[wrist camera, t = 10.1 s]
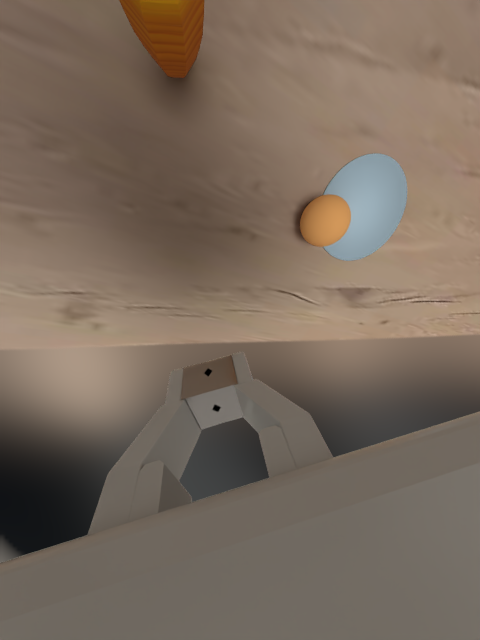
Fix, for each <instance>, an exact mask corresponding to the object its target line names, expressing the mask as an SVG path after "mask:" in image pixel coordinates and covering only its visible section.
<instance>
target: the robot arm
mask: <svg viewBox="0 0 480 640" xmlns="http://www.w3.org/2000/svg"><path fill="white" fill-rule="evenodd" d="M242 417H244V418H245V419H246V420H247V422H249V424H250V425H252V427H253V428H254V429H255V430H256V431H257V432H258V433H259V437H260V441H261V445H262V449H263V453H264V457H265V461H266V465H267V469H268V473H269V477H270V478H268V479H264V480H261V481H259V482H255V483H252V484H249V485H245V486H243V487H239V488H236V489H233V490H230V491H226V492H223V493H220V494H217V495H214V496H211V497H207V498H204V499H201V500H198V501H195V502H192V497H191V496H190V494H189V493H188V492H187V491H186V489H185V488H184V487H183V486H182V485H181V483H180V482H179V480H180V478H181V476H182V473H183V471H184V469H185V467H186V464H187V462H188V460H189V458H190V455H191V453H192V451H193V449H194V446H195V444H196V442H197V440H198V437H199V435H200V433H201V430H202V429H205V428H208V427H211V426H214V425H217V424H220V423H222V422H227V421H231V420H235V419H239V418H242ZM0 640H480V412H477V413H474V414H471V415H467V416H464V417H461V418H458V419H455V420H451V421H449V422H445V423H442V424H439V425H436V426H433V427H430V428H426V429H423V430H420V431H417V432H413V433H410V434H407V435H404V436H401V437H398V438H394V439H391V440H388V441H385V442H382V443H379V444H375V445H373V446H369V447H366V448H363V449H360V450H357V451H354V452H350V453H347V454H344V455H341V456H337V457H334V458H333V457H332V455H331V453H330V451H329V449H328V447H327V445H326V443H325V441H324V440H323V438H322V436H321V434H320V432H319V430H318V428H317V426H316V425H315V423H314V421H313V419H312V417H311V415H310V414H309V413H308V412H306V411H305V410H303V409H302V408H300V407H299V406H297V405H296V404H294V403H292V402H291V401H289V400H288V399H287V398H285V397H283V396H282V395H280V394H279V393H277V392H276V391H274V390H273V389H271V388H270V387H268V386H267V385H265V384H264V383H262V382H261V381H259V380H258V379H254V380H253V378H252V375H251V372H250V369H249V365H248V362H247V359H246V356H245V353H244V351H241V352H238V353H234V354H232V355H229V356H225V357H221V358H218V359H214V360H211V361H207V362H203V363H199V364H195V365H191V366H187V367H184V368H180V369H176V370H173V371H171V373H170V377H169V384H168V390H167V396H166V402H165V405H164V406H161V407H160V408H159V410H158V411H157V412H156V413H155V415H154V416H153V417H152V418H151V420H150V421H149V422H148V424H147V425H146V426H145V427H144V429H143V430H142V431H141V432H140V434H139V435H138V436H137V438H136V439H135V440H134V441H133V443H132V444H131V445H130V446H129V448H128V449H127V450H126V452H125V453H124V454H123V455H122V457H121V458H120V459H119V460H118V462H117V463H116V464H115V466H114V467H113V468H112V469H111V471H110V472H109V473H108V475H107V479H106V481H105V484H104V488H103V490H102V494H101V496H100V499H99V502H98V505H97V508H96V511H95V515H94V518H93V520H92V523H91V527H90V530H89V532H88V535H87V536H84V537H80V538H77V539H74V540H71V541H68V542H65V543H62V544H58V545H55V546H52V547H49V548H46V549H43V550H39V551H36V552H33V553H30V554H27V555H24V556H20V557H17V558H14V559H11V560H8V561H5V562H1V563H0Z"/></svg>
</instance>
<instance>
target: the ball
mask: <svg viewBox="0 0 480 640" xmlns="http://www.w3.org/2000/svg"><path fill="white" fill-rule="evenodd" d="M350 221H351V211H350V208H349V205H348V204H347V202H346V201H345V200H344V199H343V198H341V197H339V196H337V195H332V194H328V195H322V196H320V197H318V198H316V199H314V200H313V201H312V202H310V203H309V204H308V205H307V207H306V208H305V210H304V211H303V214H302V216H301V220H300V229H301V233H302V235H303V237H304V239H305V240H306V241H307V242H308V243H310V244H312V245H314V246H319V247H324V246H329V245H332V244H334V243H336V242H337V241H338V240H340V239H341V238H342V237H343V236H344V234H345V233H346V232H347V230H348V228H349V225H350Z"/></svg>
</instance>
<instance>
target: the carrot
mask: <svg viewBox="0 0 480 640" xmlns="http://www.w3.org/2000/svg"><path fill="white" fill-rule="evenodd" d="M119 1H120V3H121V5H122V7H123V10H124V12H125V14H126V16H127V18H128V20H129V22H130V24H131V26H132V28H133V30H134V32H135V34H136V35H137V37H138V38H139V40H140V41H141V43H142V44H143V46H144V47H145V48H146V50H147V51H148V52H149V54H150V55H151V56H152V58H153V59H154V60H155V61H156V62H157V64H158V65H159V66H160V67H161V68H162V70H163V71H164V72H165V73H166V74H167V76H169V77H176V78H184V77H185V76H186V75H187V73H188V71H189V70H190V68H191V66H192V65H193V63H194V61H195V60H196V57H197V54H198V51H199V48H200V43H201V39H202V35H203V19H204V0H119Z"/></svg>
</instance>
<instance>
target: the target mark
mask: <svg viewBox="0 0 480 640" xmlns="http://www.w3.org/2000/svg"><path fill="white" fill-rule="evenodd" d="M328 194H332V195H337V196H339V197H341V198H343V199H344V200H345V201H346V202H347V204H348V205H349V208H350V211H351V221H350V225H349V228H348V230H347V232H346V233H345V234H344V236H343V237H342V238H341V239H340V240H338V241H337V242H336V243H334V244H332V245H329V246H324V249H325V250H326V251H327V252H328V253H329V254H330V255H332V256H333V257H335V258H337V259H341V260H346V261H350V260H358V259H361V258H364V257H366V256H368V255H370V254H372V253H373V252H375V251H376V250H378V249H379V248H380V247H381V246H382V245H383V244H384V243H385V242H386V241H387V240H388V239H389V238H390V237H391V235H392V234H393V232H394V231H395V230H396V228H397V226H398V224H399V222H400V220H401V218H402V215H403V212H404V209H405V205H406V200H407V182H406V177H405V175H404V172H403V170H402V168H401V166H400V165H399V164H398V163H397V162H396V161H395V160H394V159H393V158H391V157H389V156H387V155H383V154H368V155H364V156H361V157H359V158H356V159H354V160H353V161H351V162H349V163H348V164H347V165H345V166H344V167H343V168H342V169H341V170H340V171H339V172H338V173H337V174H336V175H335V176H334V177H333V179H332V180H331V181H330V183H329V185H328V186H327V188H326V190H325V192H324V194H323V195H328Z"/></svg>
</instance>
